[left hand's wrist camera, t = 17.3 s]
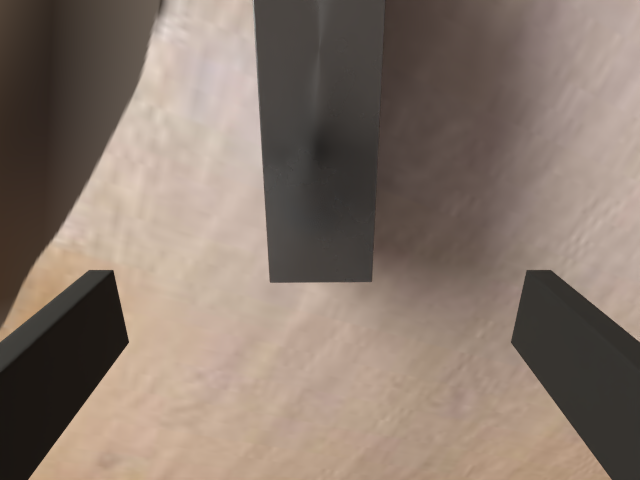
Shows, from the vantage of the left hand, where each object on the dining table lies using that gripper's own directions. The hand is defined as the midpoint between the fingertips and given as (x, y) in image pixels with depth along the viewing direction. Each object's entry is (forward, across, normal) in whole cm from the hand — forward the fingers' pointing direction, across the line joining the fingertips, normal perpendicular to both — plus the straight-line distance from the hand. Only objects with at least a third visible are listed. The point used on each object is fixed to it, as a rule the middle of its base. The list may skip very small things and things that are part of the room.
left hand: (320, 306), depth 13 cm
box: (+20, 0, -8) cm, 21 cm away
